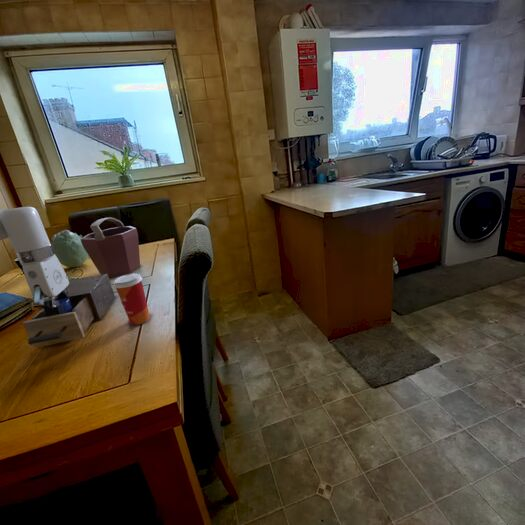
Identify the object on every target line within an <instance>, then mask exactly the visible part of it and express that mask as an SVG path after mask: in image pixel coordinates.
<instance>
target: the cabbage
mask: <svg viewBox="0 0 525 525" xmlns="http://www.w3.org/2000/svg"><path fill="white" fill-rule="evenodd" d="M83 237H84V236H83V235H82V234H80V235H78V234H77V232H72V231H70V230H68V229H63V230H61V231H59V232H57V233H54V235H52V237H51V242H52V243H51V246H52V249H53V251H54V254H55V255H56V257H57V258H58V260H59V262H60V263H61V265H62V266H64V267H67V268H77V267H81V266H83V265H84V264H85V263H86V262H87V261H88V260H89V258H90V257H89V255H88V254H87V252H86V250H85V249H84V247H83V245H82V243H81V240H80V239H81V238H83Z"/></svg>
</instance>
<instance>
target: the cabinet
mask: <svg viewBox="0 0 525 525" xmlns="http://www.w3.org/2000/svg"><path fill="white" fill-rule="evenodd" d="M68 281H69V285H68V286H67V292H68V295H67V296H68V297H69V299H72V298H77V297H83V296H88V295H89V298H90V301H91V303H92V306H93V309H94V311H95V314H96V316H95V318H94V319H93V321H92V322H97V321H101V320H102V318H103V317H104V315H105V314H106V313H107V311H108V309H109V308H110V306H111V305H112V303H113V301H114V300H115V298H116V295H115V291H114V288H113V286H112V283H111V280H110V277H108V274H102V275H101V274H97V275H92V276H91V275H90V276H86V277H80V278H73V279H68ZM56 298H58V297H54V300H56ZM45 301H48V302H50V299H45Z"/></svg>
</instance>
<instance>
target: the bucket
mask: <svg viewBox="0 0 525 525" xmlns="http://www.w3.org/2000/svg"><path fill="white" fill-rule="evenodd" d="M104 221H109V222H112V223H114V224H115V225H116V227H111V228H107V229H103V230H102V229H101V228H100V225H101V224H102V223H103V222H104ZM90 229H91V231H93V232H91V233H88V234H86V235H85V236H82V237H83V238H81V239H80V240H81V243H82V245H83V247H84V249H85V250H86V252H87V254H88V255H89V257H88V258H90V260H91V262H92V263H93V265H94V267H95V268H96V269H97V271H98V273H99V275H102V274H108V277H109V278H116V277H121V276H125V275H128V274H132V272H134V271H136V270H137V269H139V268H140V267H141V258H140V244H139V242H140V241H139V233H138V230H137V227H134V226H131V225H127V226H125V225H124V223H123V222H122V221H121V220H120V219H117V218H115V217H111V216H110V217H104V218H100V219H97V220H96V221H94V222H93V223H91V225H90Z"/></svg>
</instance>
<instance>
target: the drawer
mask: <svg viewBox="0 0 525 525" xmlns="http://www.w3.org/2000/svg"><path fill="white" fill-rule="evenodd" d="M70 301H71V304H72V306H73V307H72V309H73V310H72V312H69V313H64V314H59V315H54V316H49V317H47V315H46V312H45V310H43V309H42V308H41V309H40V310H38V312H37V313H36V314H34V316H32V317H31V319H27V320H25V321H23V323H22V325H23V327H24V329H25V331H26V334H27V336H28V337H29V338H28V339H27V343H28V345H33V347H34V348H35V349H36V348H41V347H46V346H51V345H56V344H59V343H66V342H70V341H74V340H79V339H84V338H85V336H86V333H85V332H86V330H87V329H88V328H89V327H90V325H91V324H92V322H94V321H93V319H94V318H95V316H96V314H95V311H94V309H93V306H92V303H91V301H90V298H89V295H88V296H83V297H77V298H72V299H70Z"/></svg>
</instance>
